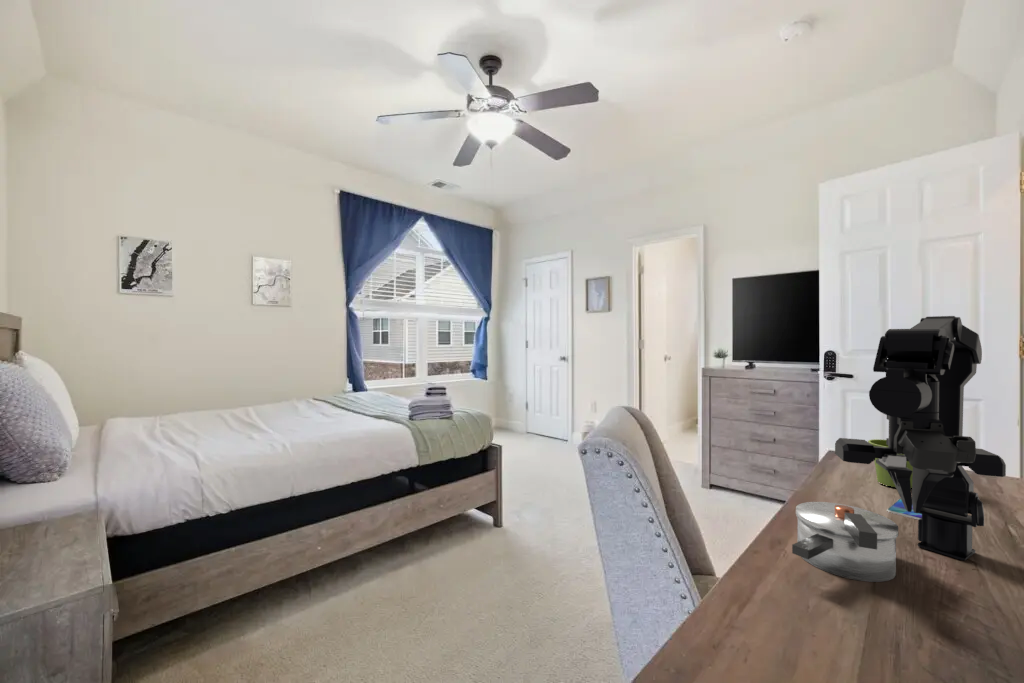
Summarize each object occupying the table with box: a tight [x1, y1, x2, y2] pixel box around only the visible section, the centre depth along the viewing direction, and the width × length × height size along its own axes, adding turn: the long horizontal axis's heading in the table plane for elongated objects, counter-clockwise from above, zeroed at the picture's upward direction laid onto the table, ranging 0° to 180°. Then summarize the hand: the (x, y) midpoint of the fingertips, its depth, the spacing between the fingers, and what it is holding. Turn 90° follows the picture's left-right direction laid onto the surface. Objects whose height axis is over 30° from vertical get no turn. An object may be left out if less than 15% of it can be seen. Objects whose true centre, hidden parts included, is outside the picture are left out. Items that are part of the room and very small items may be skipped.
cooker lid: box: [795, 501, 899, 550], centre depth 77 cm, size 20×15×3 cm
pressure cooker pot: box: [791, 518, 897, 583], centre depth 78 cm, size 25×14×6 cm, turn 121°
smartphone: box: [886, 498, 922, 520], centre depth 103 cm, size 7×1×15 cm
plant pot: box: [867, 438, 913, 488], centre depth 120 cm, size 12×12×11 cm
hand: (912, 511), depth 68 cm, fingers closed
